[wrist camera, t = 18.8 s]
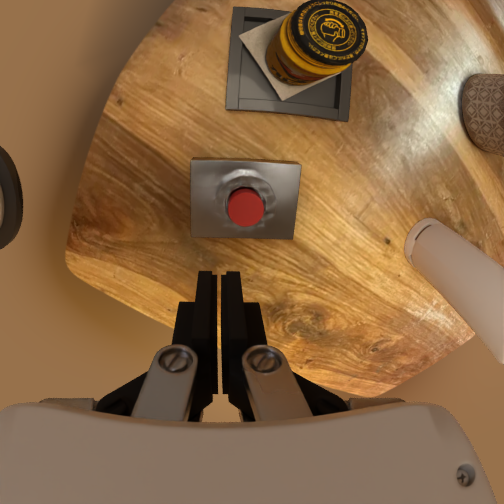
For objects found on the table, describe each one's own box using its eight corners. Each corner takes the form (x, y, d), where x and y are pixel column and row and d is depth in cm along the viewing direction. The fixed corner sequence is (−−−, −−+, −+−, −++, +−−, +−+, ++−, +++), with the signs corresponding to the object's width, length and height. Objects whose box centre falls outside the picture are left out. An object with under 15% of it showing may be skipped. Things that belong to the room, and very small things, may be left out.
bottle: (447, 219, 37) (578, 324, 12) (435, 264, 40) (542, 381, 15) (410, 216, 36) (556, 342, 11) (398, 266, 40) (510, 405, 15)
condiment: (282, 101, 26) (316, 90, 15) (238, 36, 22) (244, -12, 11) (340, 73, 24) (400, 55, 14) (298, 10, 21) (336, -40, 10)
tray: (225, 110, 29) (225, 109, 26) (232, 16, 23) (233, 6, 20) (338, 121, 30) (348, 122, 27) (343, 31, 25) (353, 24, 22)
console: (192, 230, 35) (189, 243, 31) (192, 157, 31) (187, 162, 27) (289, 232, 36) (296, 246, 32) (297, 161, 32) (306, 167, 28)
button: (227, 220, 31) (227, 226, 29) (228, 187, 29) (228, 192, 28) (260, 221, 31) (262, 227, 29) (263, 189, 29) (265, 193, 28)
